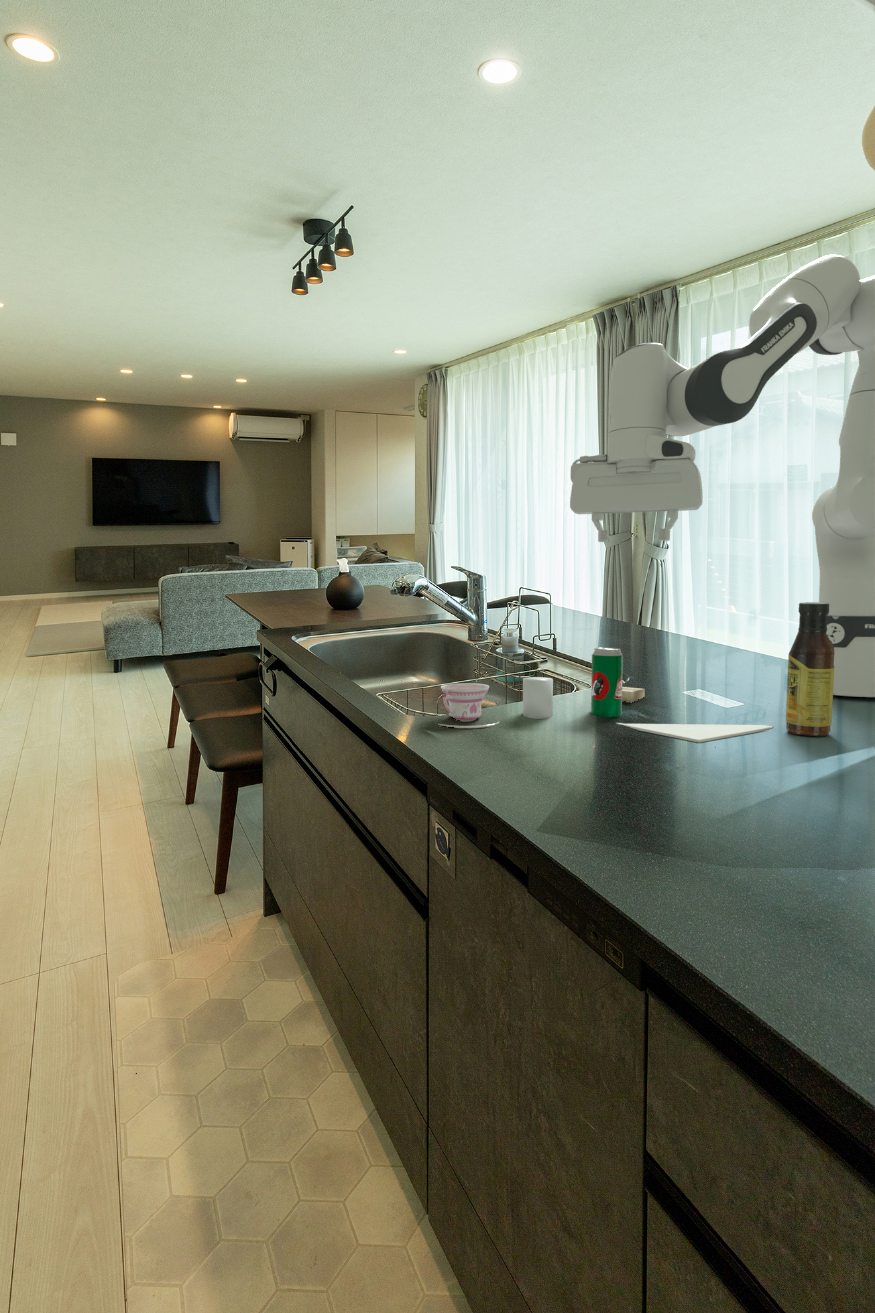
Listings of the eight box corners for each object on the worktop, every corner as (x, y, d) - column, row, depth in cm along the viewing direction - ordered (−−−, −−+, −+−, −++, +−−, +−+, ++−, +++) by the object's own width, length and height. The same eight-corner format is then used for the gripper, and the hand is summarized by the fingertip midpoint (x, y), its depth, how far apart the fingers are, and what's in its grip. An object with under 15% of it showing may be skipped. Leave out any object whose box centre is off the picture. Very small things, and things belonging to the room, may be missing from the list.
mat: (679, 713, 130) (679, 711, 130) (773, 729, 115) (773, 726, 115) (606, 723, 121) (606, 721, 121) (699, 742, 106) (699, 739, 106)
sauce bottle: (785, 728, 116) (790, 601, 114) (830, 731, 113) (836, 602, 112) (784, 736, 110) (789, 602, 108) (832, 739, 107) (838, 602, 106)
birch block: (619, 707, 138) (619, 686, 138) (644, 710, 135) (644, 688, 134) (606, 711, 134) (606, 689, 134) (631, 714, 131) (631, 691, 131)
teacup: (465, 714, 131) (465, 680, 131) (516, 723, 122) (516, 686, 122) (414, 723, 123) (414, 686, 123) (465, 733, 114) (465, 693, 114)
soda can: (622, 722, 122) (623, 650, 121) (590, 721, 123) (592, 649, 122) (620, 717, 127) (622, 647, 126) (590, 716, 128) (591, 647, 127)
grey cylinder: (539, 716, 128) (539, 676, 127) (558, 720, 124) (559, 679, 123) (516, 719, 125) (516, 678, 125) (535, 724, 121) (536, 681, 120)
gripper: (566, 453, 117) (564, 541, 119) (702, 443, 109) (698, 538, 110) (575, 459, 123) (573, 543, 124) (705, 451, 115) (702, 541, 116)
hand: (633, 541), depth 117 cm, fingers open, 8 cm apart
